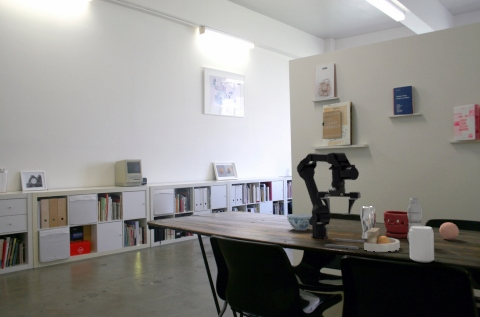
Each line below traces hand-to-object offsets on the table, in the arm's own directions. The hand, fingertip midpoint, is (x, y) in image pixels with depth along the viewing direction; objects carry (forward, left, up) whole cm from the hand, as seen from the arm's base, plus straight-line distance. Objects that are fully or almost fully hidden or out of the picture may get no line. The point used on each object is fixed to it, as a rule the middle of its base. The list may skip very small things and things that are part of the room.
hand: (339, 213), depth 182 cm
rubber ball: (+20, -5, -10) cm, 23 cm away
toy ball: (+44, +27, -13) cm, 53 cm away
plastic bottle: (+31, +10, -13) cm, 35 cm away
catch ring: (+20, -5, -13) cm, 24 cm away
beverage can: (+36, -22, -13) cm, 44 cm away
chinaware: (-29, +28, -13) cm, 42 cm away
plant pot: (+22, +26, -13) cm, 37 cm away
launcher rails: (+4, -5, -13) cm, 14 cm away
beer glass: (+10, +15, -13) cm, 22 cm away
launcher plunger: (+16, -5, -13) cm, 21 cm away
